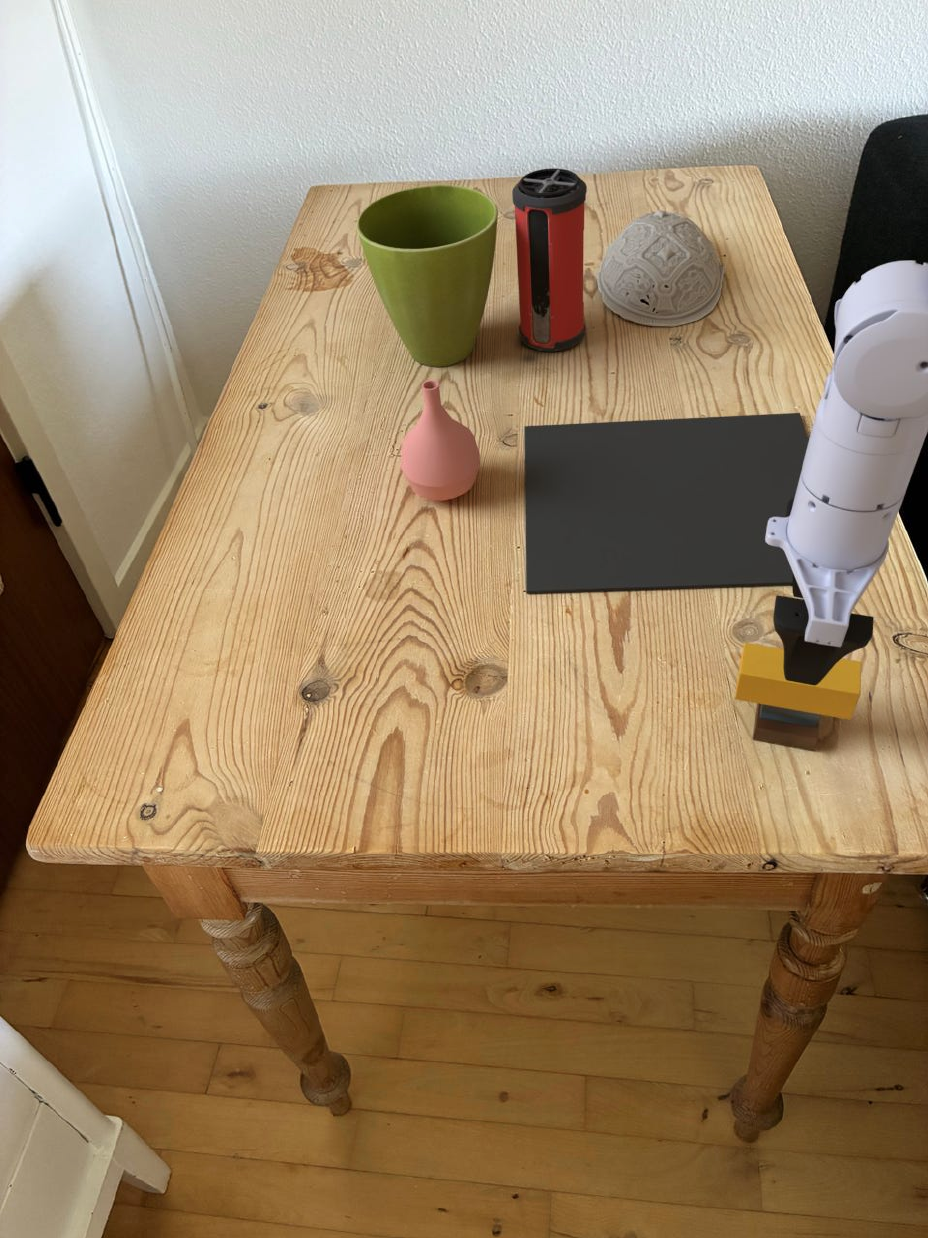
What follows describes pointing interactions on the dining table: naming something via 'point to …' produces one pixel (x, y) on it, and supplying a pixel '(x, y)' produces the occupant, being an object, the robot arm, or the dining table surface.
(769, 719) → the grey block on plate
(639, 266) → the carved stone dome
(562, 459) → the mat
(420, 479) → the pink bud vase
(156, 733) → the dining table surface
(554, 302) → the speaker
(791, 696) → the bar
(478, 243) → the flower pot
